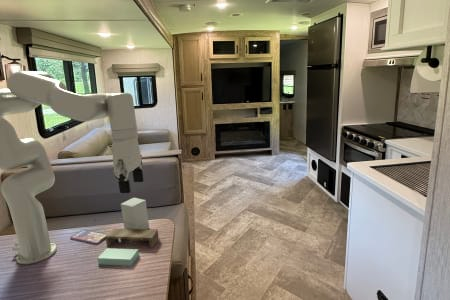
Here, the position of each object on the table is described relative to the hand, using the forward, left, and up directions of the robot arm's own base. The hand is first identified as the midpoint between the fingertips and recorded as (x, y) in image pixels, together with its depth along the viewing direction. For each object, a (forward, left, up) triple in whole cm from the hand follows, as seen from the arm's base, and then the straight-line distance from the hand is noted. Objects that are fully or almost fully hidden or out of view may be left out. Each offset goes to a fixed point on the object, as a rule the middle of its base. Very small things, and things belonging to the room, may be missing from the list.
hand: (132, 187), depth 94 cm
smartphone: (-29, +15, -28) cm, 43 cm away
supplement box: (-12, +22, -28) cm, 38 cm away
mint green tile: (-9, +1, -28) cm, 29 cm away
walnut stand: (-9, +12, -28) cm, 32 cm away
